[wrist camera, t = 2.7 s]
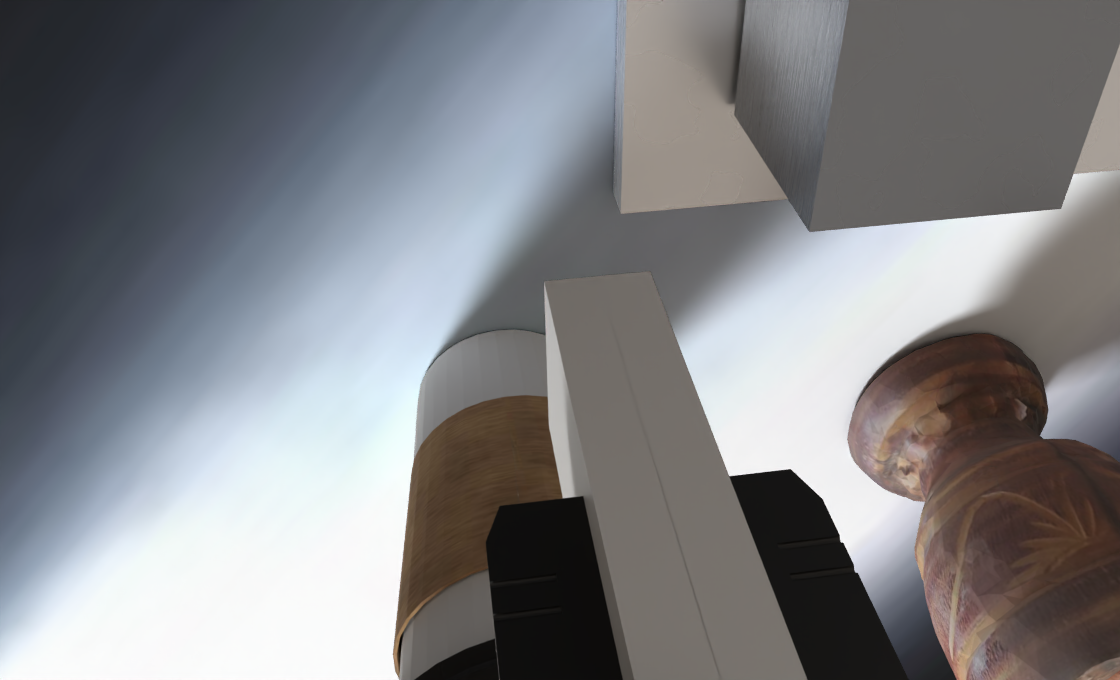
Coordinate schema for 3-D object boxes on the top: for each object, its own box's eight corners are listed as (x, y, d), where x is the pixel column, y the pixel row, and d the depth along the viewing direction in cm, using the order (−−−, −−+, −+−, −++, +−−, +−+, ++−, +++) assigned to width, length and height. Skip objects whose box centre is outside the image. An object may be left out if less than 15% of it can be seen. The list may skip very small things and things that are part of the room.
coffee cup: (557, 254, 30) (666, 685, 18) (660, 420, 35) (795, 838, 24) (330, 368, 32) (298, 832, 20) (460, 510, 37) (495, 946, 25)
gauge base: (623, -280, 21) (692, -237, 17) (1577, -315, 24) (1878, -286, 19) (613, 193, 29) (658, 316, 24) (1339, 130, 31) (1512, 231, 27)
